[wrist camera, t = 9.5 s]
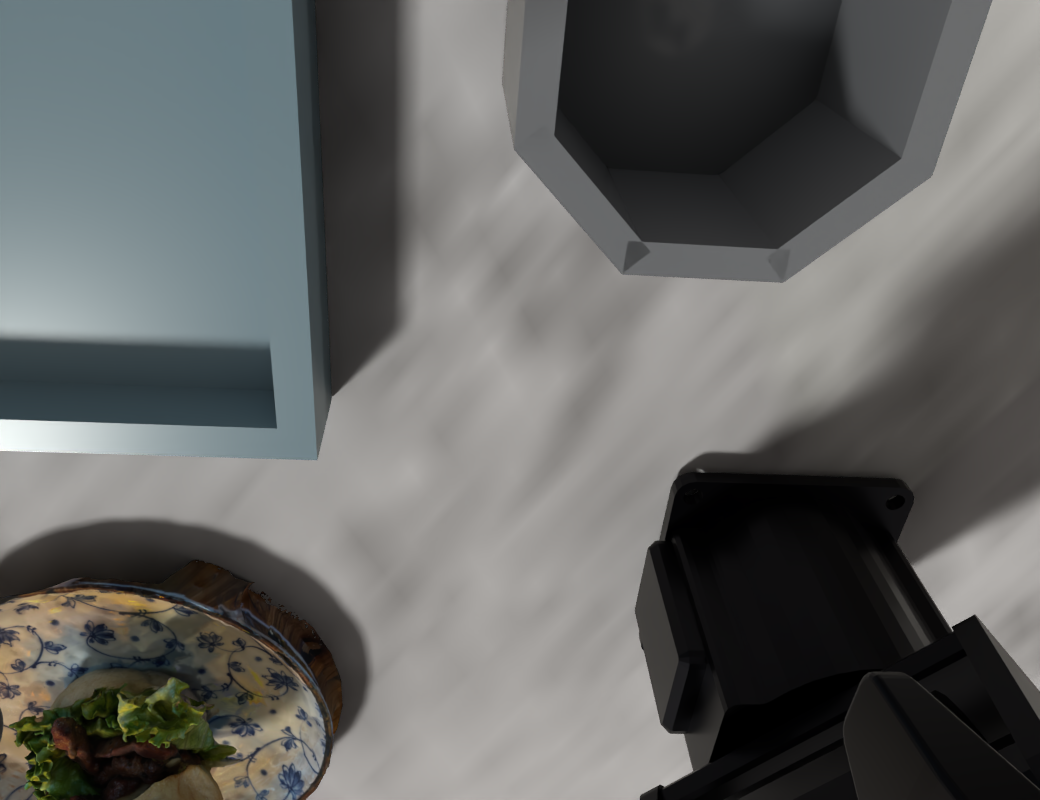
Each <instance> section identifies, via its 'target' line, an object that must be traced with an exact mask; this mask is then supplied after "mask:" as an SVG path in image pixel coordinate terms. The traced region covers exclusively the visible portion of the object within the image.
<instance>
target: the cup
mask: <svg viewBox="0 0 1040 800" xmlns="http://www.w3.org/2000/svg"><path fill="white" fill-rule="evenodd" d="M991 3H992V0H508V2H507V17H506V32H505V47H504V62H503V77H502V85H503V90H504V96H505V102H506V107H507V113H508V118H509V124H510V129H511V135H512V141H513V146H514V150H515V151H516V152H517V153H518V155H519V156H520V157H521V158H522V159H523V160H524V162H525V163H526V164H527V165H528V166H529V167H530V168H531V170H532V171H533V172H534V173H535V174H536V175H537V177H538V178H539V179H540V180H541V181H542V182H543V184H544V185H545V186H546V187H547V188H548V189H549V190H550V192H551V193H552V194H553V195H554V196H555V197H556V199H557V200H558V201H559V202H560V203H561V204H562V205H563V207H564V208H565V209H566V210H567V211H568V212H569V214H570V215H571V216H572V217H573V218H574V219H575V221H576V222H577V223H578V224H579V225H580V226H581V227H582V229H583V230H584V231H585V232H586V233H587V234H588V236H589V237H590V238H591V239H592V240H593V241H594V242H595V244H596V245H597V246H598V247H599V248H600V249H601V251H602V252H603V253H604V254H605V255H606V256H607V258H608V259H609V260H610V261H611V262H612V263H613V264H614V266H615V267H616V268H617V269H618V270H619V271H620V273H621V274H625V275H644V276H663V277H683V278H702V279H722V280H741V281H761V282H780V283H783V282H785V281H786V280H787V279H789V278H790V277H792V276H793V275H794V274H796V273H797V272H799V271H800V270H801V269H803V268H804V267H806V266H807V265H808V264H810V263H811V262H813V261H814V260H815V259H817V258H818V257H820V256H821V255H822V254H824V253H825V252H827V251H828V250H829V249H831V248H832V247H834V246H835V245H836V244H838V243H839V242H841V241H842V240H843V239H845V238H846V237H848V236H849V235H850V234H852V233H853V232H855V231H856V230H857V229H859V228H860V227H862V226H863V225H864V224H866V223H867V222H869V221H870V220H871V219H873V218H874V217H876V216H877V215H878V214H880V213H881V212H883V211H884V210H885V209H887V208H888V207H890V206H891V205H892V204H894V203H895V202H897V201H898V200H899V199H901V198H902V197H904V196H905V195H906V194H908V193H909V192H911V191H912V190H913V189H915V188H916V187H918V186H919V185H920V184H922V183H923V182H925V181H926V180H927V179H929V178H930V177H931V176H932V175H933V172H934V169H935V166H936V163H937V160H938V157H939V154H940V151H941V148H942V146H943V143H944V140H945V137H946V134H947V131H948V128H949V125H950V122H951V119H952V116H953V114H954V111H955V108H956V105H957V102H958V99H959V96H960V93H961V90H962V87H963V84H964V81H965V79H966V76H967V73H968V70H969V67H970V64H971V61H972V58H973V55H974V52H975V49H976V46H977V44H978V41H979V38H980V35H981V32H982V29H983V26H984V23H985V20H986V17H987V14H988V11H989V9H990V6H991Z"/></svg>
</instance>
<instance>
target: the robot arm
mask: <svg viewBox="0 0 1040 800" xmlns="http://www.w3.org/2000/svg"><path fill="white" fill-rule="evenodd" d="M694 489H696V490H698V491H697V492H696V493H694V494H692V495H685V493H686V492H688V491H689V490H694ZM895 495H897V496H896V497H895V498H893V499H891V500H888V499H889V498H890V497H892V496H895ZM913 501H914V496H913V493H912V491H911V490H910V489H909V487H908V486H907V484H906V483H905V482H904V481H902V480H900V479H895V478H864V477H831V476H798V475H764V474H731V473H697V472H692V473H686V474H683V475H681V476H679V477H678V478H677V479H676V480H675V481H674V482H673V484H672V487H671V490H670V495H669V500H668V504H667V509H666V513H665V518H664V522H663V527H662V531H661V536H660V540H659V541H655V542H654V543H653V544H652V545H651V546H650V547H649V548H648V551H647V555H646V560H645V565H644V569H643V574H642V579H641V583H640V588H639V593H638V597H637V602H636V607H635V614H636V618H637V623H638V627H639V639H640V643H641V647H642V649H643V650H644V653H645V657H646V662H647V666H648V671H649V675H650V679H651V684H652V688H653V692H654V697H655V701H656V705H657V710H658V714H659V719H660V723H661V725H662V726H663V727H664V728H665V729H666V730H667V731H668V732H669V733H670V734H684V736H685V740H686V744H687V748H688V752H689V756H690V760H691V764H692V768H693V772H692V773H690V774H688V775H686V776H684V777H682V778H680V779H679V780H677V781H675V782H673V783H671V784H669V785H667V786H666V787H664V786H662V785H659V786H657V787H655V788H653V789H651V790H649V791H648V792H646V793H644V794H642V795H641V796H640V800H1040V691H1039V690H1038V689H1037V688H1036V686H1035V685H1034V684H1033V683H1032V682H1031V680H1030V679H1029V678H1028V677H1027V676H1026V674H1025V673H1024V672H1023V671H1022V670H1021V668H1020V667H1019V666H1018V665H1017V664H1016V662H1015V661H1014V660H1013V659H1012V658H1011V656H1010V655H1009V654H1008V653H1007V652H1006V651H1005V649H1004V648H1003V647H1002V646H1001V645H1000V643H999V642H998V641H997V640H996V639H995V637H994V636H993V635H992V634H991V633H990V631H989V630H988V629H987V628H986V627H985V625H984V624H983V623H982V622H981V621H980V619H979V618H978V617H977V616H976V615H973V616H971V617H969V618H968V619H966V620H964V621H962V622H960V623H958V624H956V625H955V626H953V627H952V629H953V631H952V630H951V628H950V627H949V625H948V623H947V622H946V620H945V619H944V617H943V615H942V614H941V612H940V611H939V609H938V608H937V606H936V604H935V603H934V601H933V600H932V598H931V596H930V595H929V593H928V592H927V590H926V588H925V587H924V585H923V584H922V582H921V581H920V579H919V577H918V576H917V574H916V573H915V571H914V569H913V568H912V566H911V565H910V563H909V561H908V560H907V558H906V557H905V555H904V554H903V552H902V550H901V549H900V547H899V546H898V544H897V541H898V538H899V536H900V534H901V531H902V529H903V526H904V524H905V522H906V519H907V517H908V514H909V512H910V510H911V507H912V505H913ZM3 724H4V723H3V715H2V711H1V708H0V741H1V738H2V733H3Z"/></svg>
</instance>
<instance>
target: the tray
mask: <svg viewBox="0 0 1040 800" xmlns="http://www.w3.org/2000/svg"><path fill="white" fill-rule="evenodd" d="M331 399H332V393H331V369H330V346H329V322H328V299H327V275H326V251H325V228H324V204H323V181H322V157H321V134H320V110H319V86H318V63H317V39H316V16H315V0H0V451H29V452H62V453H95V454H129V455H162V456H195V457H228V458H262V459H295V460H317V459H318V455H319V451H320V446H321V442H322V438H323V434H324V429H325V425H326V421H327V417H328V412H329V408H330V404H331Z"/></svg>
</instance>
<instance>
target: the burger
mask: <svg viewBox="0 0 1040 800" xmlns="http://www.w3.org/2000/svg"><path fill="white" fill-rule="evenodd" d="M196 561H197V560H193V561H191V562H190V563H189V564H188V565H187V566H186V567H184V568H182V569H181V570H179V571H178V572H176V573H174V574H173V575H171V576H170V577H169V578H168V579H166V580H165V581H164V582H163V583H160V584H154V583H152V584H151V583H146V584H142V583H139V582H125V581H121V580H116V579H105V580H99V579H91V578H90V577H85V578H75V579H70V580H68V581H65V582H63V583H60V584H58V585H55V586H53V587H49V588H46V589H42V590H39V591H35V592H32V593H28V594H20V595H12V596H7V597H4V598H1V599H0V708H1V711H2V715H3V723H4V724H3V733H2V738H1V741H0V800H306V799H307V798H308V797H309V795H311V794H312V793H313V792H314V791H315V790H316V789H317V787H318V785H319V783H320V782H321V780H322V778H323V776H324V774H325V772H326V769H327V768H328V767H329V764H330V758H331V753H332V749H333V742H334V741H333V737H334V733H335V731H336V730H337V727H338V723H339V718H340V714H341V710H342V705H343V704H342V691H341V679H340V677H339V674H338V671H337V668H336V666H335V663H334V661H333V658H332V655H331V653H330V651H329V650H328V649H327V647H326V646H325V644H324V643H323V641H322V640H321V641H320V639H321V638H320V637H319V636H318V634H317V633H316V631H315V630H314V628H313V627H312V626H311V625H310V624H308V623H307V622H306V621H305V620H300V621H299V620H298V617H296V618H294V616H293V615H292V616H291V613H292V612H288V613H286V610H283V611H281V608H279V609H278V608H277V607H276V606H273V605H270V604H268V603H266V601H265V600H266V599H264V598H263V596H261V594H264V595H266V594H265V593H264V592H261V594H256V593H255V592H252V591H251V590H249V589H248V588H249V586H250V585H251V583H249V582H246V581H244V580H242V579H237V578H235V577H233V576H232V575H231V573H230V572H229V571H228V570H225V569H223V568H221V567H219V566H216V565H213V564H211V563H205V562H204V561H199V560H198V562H196ZM218 568H221V569H218ZM252 583H255V582H252ZM267 596H268V595H267ZM271 600H272V599H270V598H269V599H268V601H270V602H271ZM279 607H285V606H283V605H281V606H279ZM278 611H279V612H278ZM296 616H298V615H296ZM304 623H306V624H304ZM305 625H308V627H307V628H306V627H305ZM312 630H314V631H313V633H314V635H313V634H312ZM315 636H316V638H314V637H315ZM320 644H322V645H320Z"/></svg>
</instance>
